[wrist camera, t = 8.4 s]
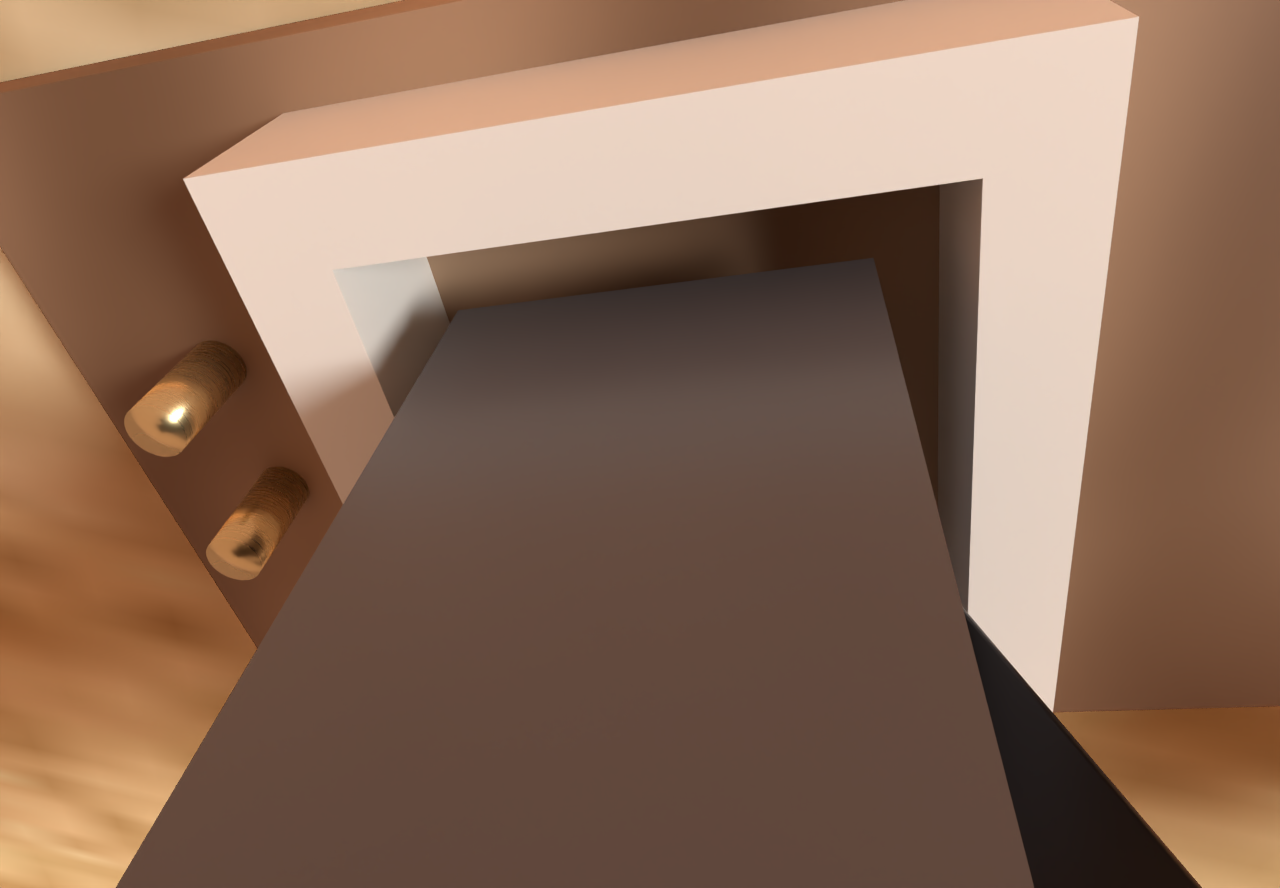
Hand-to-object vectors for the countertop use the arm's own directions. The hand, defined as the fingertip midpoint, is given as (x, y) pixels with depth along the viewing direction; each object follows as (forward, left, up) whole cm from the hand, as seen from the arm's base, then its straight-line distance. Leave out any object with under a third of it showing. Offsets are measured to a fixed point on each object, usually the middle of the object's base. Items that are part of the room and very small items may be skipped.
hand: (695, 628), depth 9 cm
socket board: (0, 0, -4) cm, 4 cm away
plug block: (0, 0, -2) cm, 2 cm away
